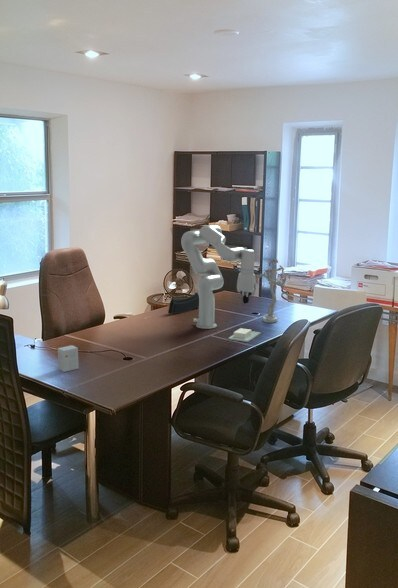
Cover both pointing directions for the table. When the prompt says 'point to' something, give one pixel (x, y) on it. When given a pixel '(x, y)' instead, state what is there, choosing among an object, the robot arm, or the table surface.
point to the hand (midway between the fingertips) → (245, 302)
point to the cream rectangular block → (242, 333)
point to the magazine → (184, 304)
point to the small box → (68, 358)
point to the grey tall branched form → (273, 282)
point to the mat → (247, 339)
